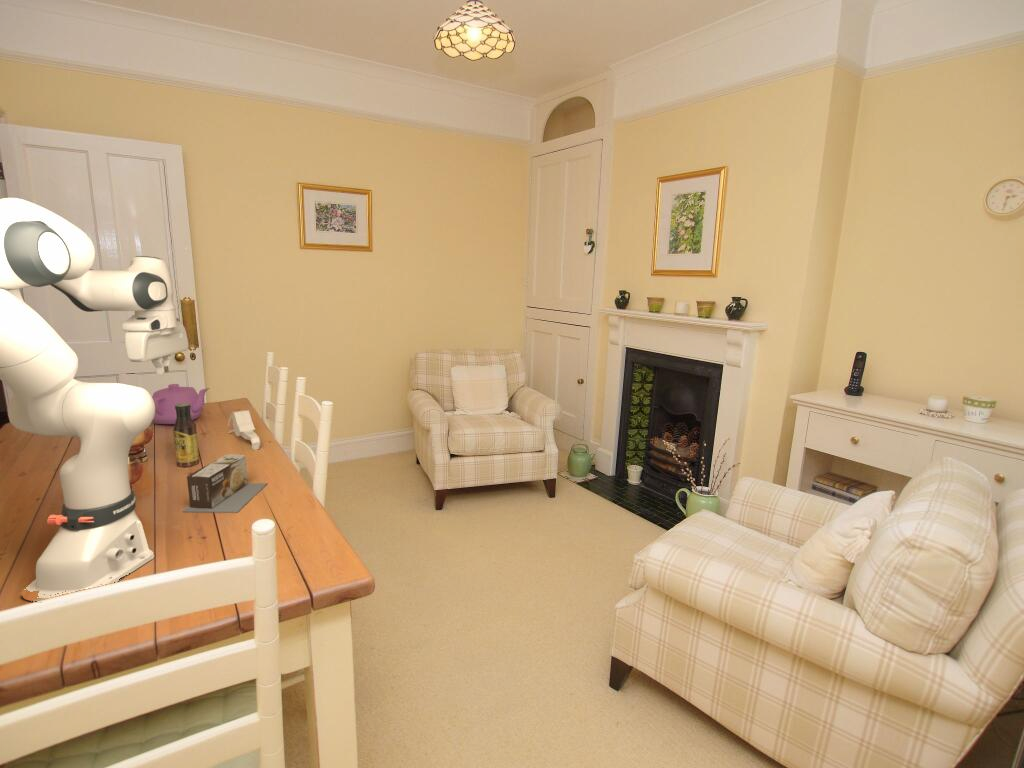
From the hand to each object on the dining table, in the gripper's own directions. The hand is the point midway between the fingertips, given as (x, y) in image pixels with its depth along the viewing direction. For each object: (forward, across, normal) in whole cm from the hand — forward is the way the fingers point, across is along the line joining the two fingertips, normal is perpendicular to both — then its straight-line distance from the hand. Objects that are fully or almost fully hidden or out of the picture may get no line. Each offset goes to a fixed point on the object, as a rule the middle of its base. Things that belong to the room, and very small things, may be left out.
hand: (163, 372), depth 139 cm
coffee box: (+29, -6, +14) cm, 33 cm away
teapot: (+34, -68, -39) cm, 86 cm away
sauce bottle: (+34, -21, -9) cm, 41 cm away
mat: (+34, +3, +15) cm, 37 cm away
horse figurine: (+35, -44, -2) cm, 56 cm away
